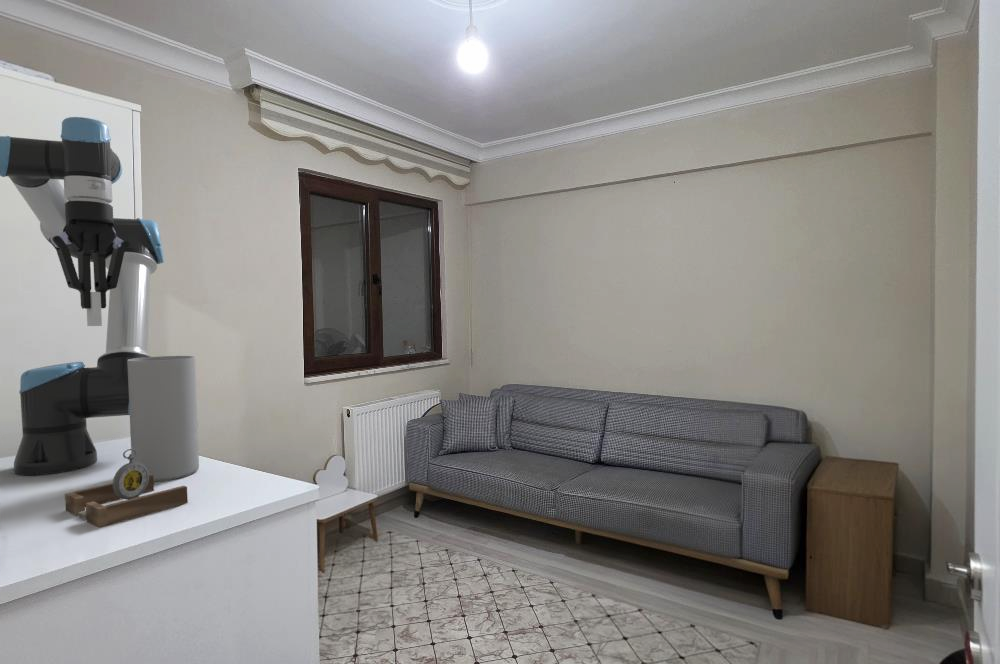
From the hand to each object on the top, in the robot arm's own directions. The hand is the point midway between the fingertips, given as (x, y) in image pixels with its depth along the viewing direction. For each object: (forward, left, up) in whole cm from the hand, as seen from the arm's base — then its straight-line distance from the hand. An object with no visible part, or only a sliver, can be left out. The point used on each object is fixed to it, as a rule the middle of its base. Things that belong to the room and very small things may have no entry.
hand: (94, 325), depth 113 cm
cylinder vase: (-2, +13, -33) cm, 35 cm away
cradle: (+14, -1, -32) cm, 35 cm away
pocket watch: (+15, +1, -33) cm, 36 cm away
